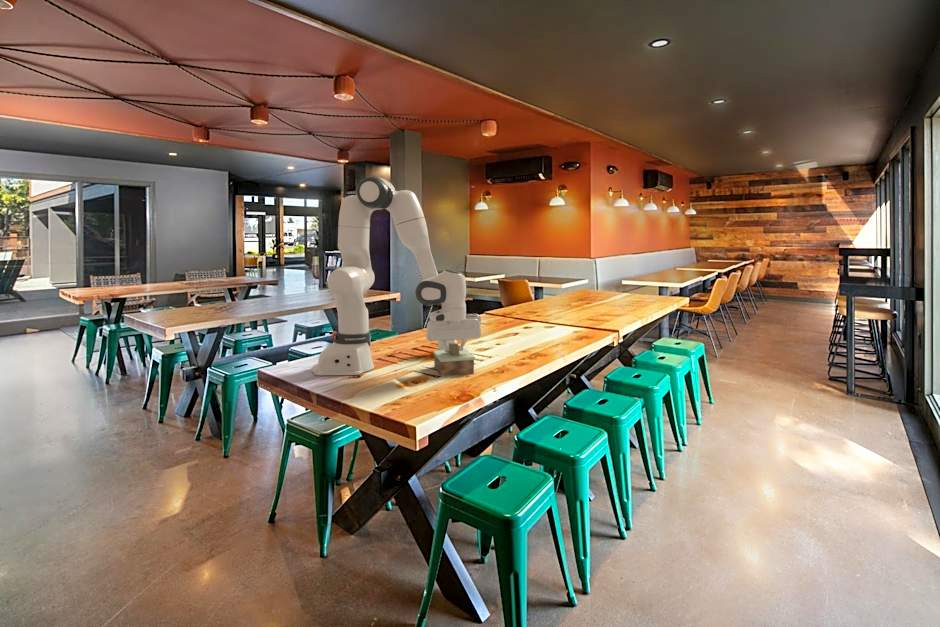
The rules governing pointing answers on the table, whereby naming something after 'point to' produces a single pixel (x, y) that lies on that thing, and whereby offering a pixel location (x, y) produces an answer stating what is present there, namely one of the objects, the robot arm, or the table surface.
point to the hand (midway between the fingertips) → (453, 351)
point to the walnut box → (454, 367)
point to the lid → (453, 354)
